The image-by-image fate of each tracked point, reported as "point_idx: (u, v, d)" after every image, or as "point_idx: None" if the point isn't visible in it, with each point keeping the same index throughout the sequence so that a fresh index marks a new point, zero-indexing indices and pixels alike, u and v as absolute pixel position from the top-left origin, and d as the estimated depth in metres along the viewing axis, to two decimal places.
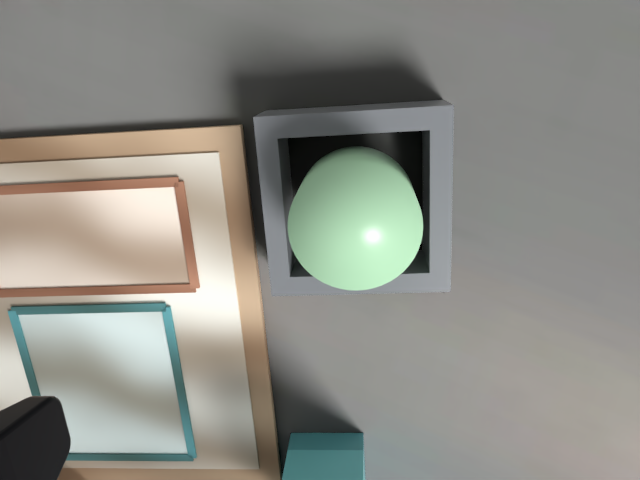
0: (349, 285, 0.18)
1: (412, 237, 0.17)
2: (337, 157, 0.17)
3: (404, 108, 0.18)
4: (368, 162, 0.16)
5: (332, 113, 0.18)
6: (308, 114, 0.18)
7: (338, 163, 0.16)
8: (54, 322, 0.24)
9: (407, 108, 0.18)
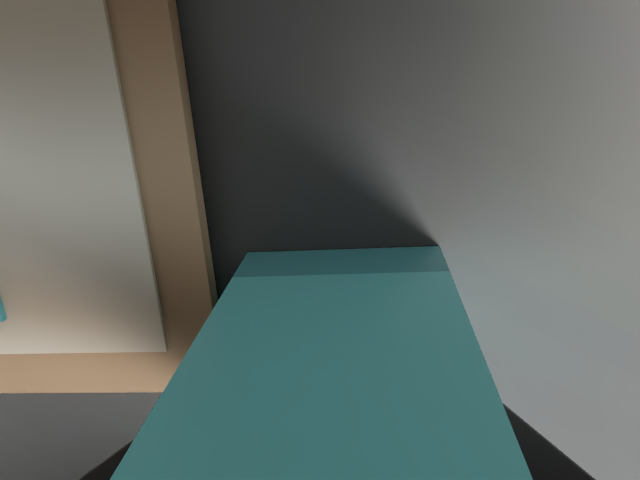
0: None
1: None
2: None
3: None
4: None
5: None
6: None
7: None
8: None
9: None
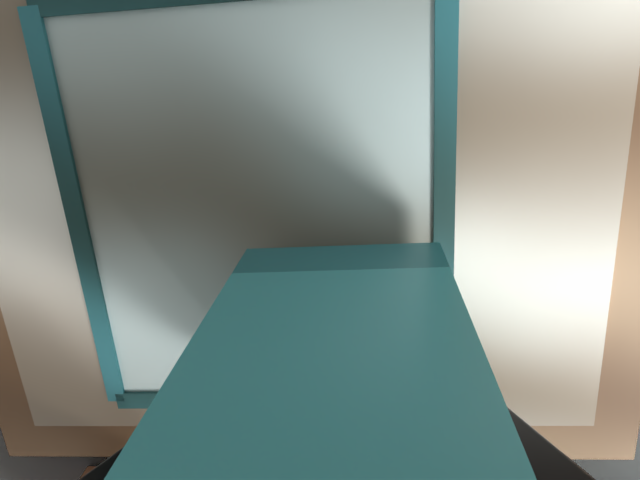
0: None
1: None
2: None
3: None
4: None
5: None
6: None
7: None
8: (137, 38, 0.09)
9: None
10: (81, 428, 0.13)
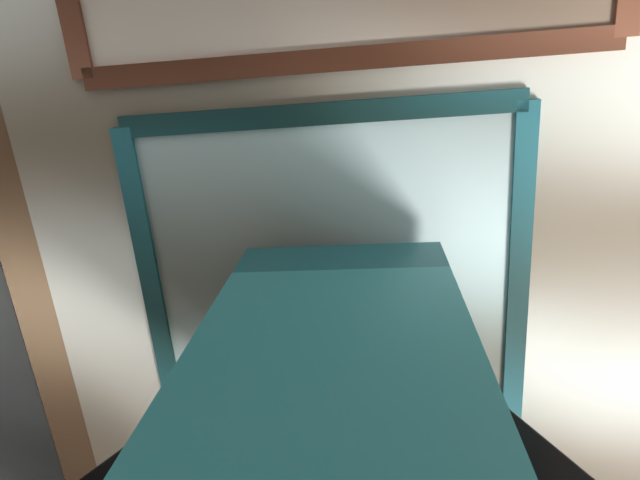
0: None
1: None
2: None
3: None
4: None
5: None
6: None
7: None
8: (224, 157, 0.10)
9: None
10: None
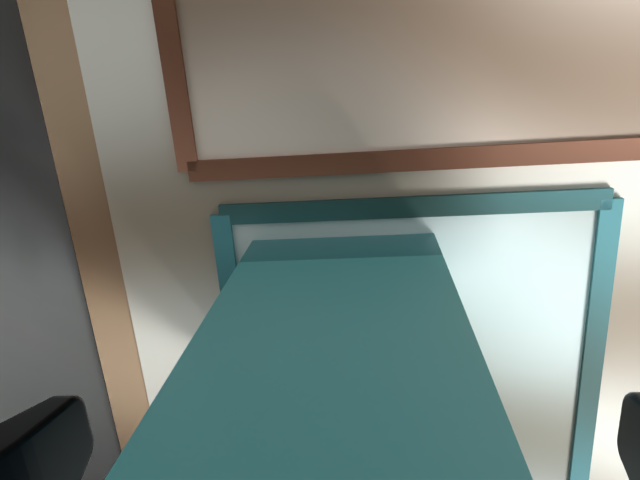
0: None
1: None
2: None
3: None
4: None
5: None
6: None
7: None
8: None
9: None
10: None
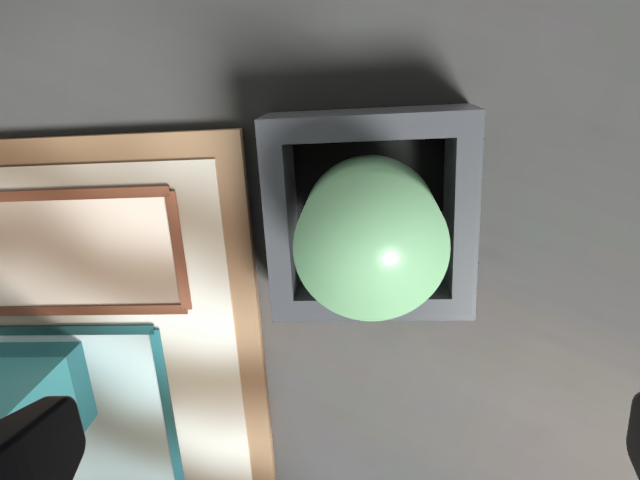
0: (362, 315, 0.15)
1: (438, 262, 0.15)
2: (351, 167, 0.15)
3: (428, 112, 0.16)
4: (388, 174, 0.14)
5: (345, 117, 0.16)
6: (317, 117, 0.16)
7: (353, 175, 0.14)
8: None
9: (431, 112, 0.16)
10: None
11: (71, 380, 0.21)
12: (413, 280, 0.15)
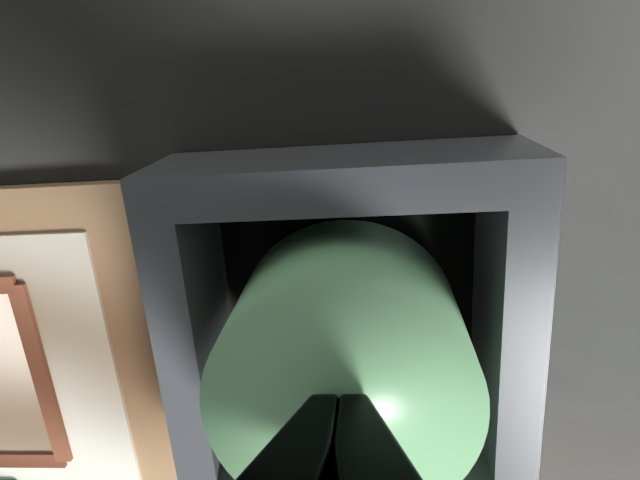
0: None
1: (466, 436, 0.08)
2: (306, 256, 0.08)
3: (452, 163, 0.08)
4: (371, 283, 0.07)
5: (291, 173, 0.08)
6: (238, 174, 0.08)
7: (304, 284, 0.07)
8: None
9: (458, 163, 0.08)
10: None
11: None
12: (421, 464, 0.08)
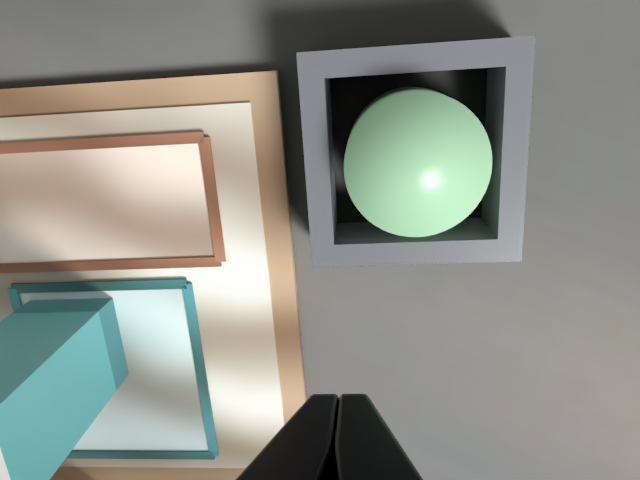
0: (408, 231, 0.16)
1: (480, 177, 0.16)
2: (396, 92, 0.16)
3: (476, 40, 0.15)
4: (434, 92, 0.15)
5: (390, 47, 0.15)
6: (361, 48, 0.16)
7: (401, 94, 0.15)
8: None
9: (479, 40, 0.15)
10: None
11: (103, 335, 0.20)
12: (457, 195, 0.16)
